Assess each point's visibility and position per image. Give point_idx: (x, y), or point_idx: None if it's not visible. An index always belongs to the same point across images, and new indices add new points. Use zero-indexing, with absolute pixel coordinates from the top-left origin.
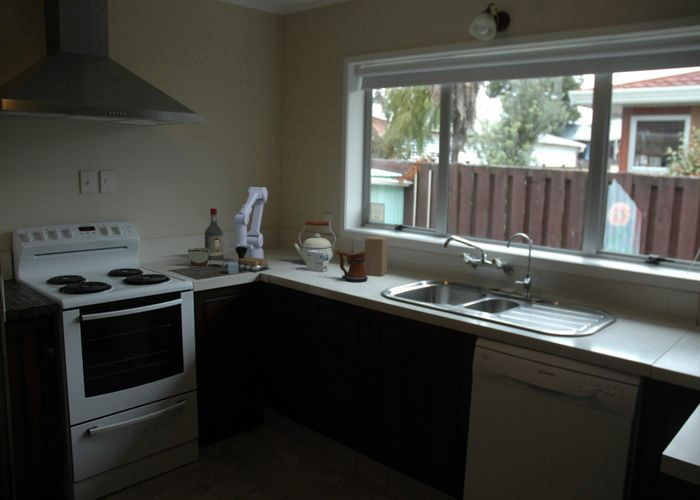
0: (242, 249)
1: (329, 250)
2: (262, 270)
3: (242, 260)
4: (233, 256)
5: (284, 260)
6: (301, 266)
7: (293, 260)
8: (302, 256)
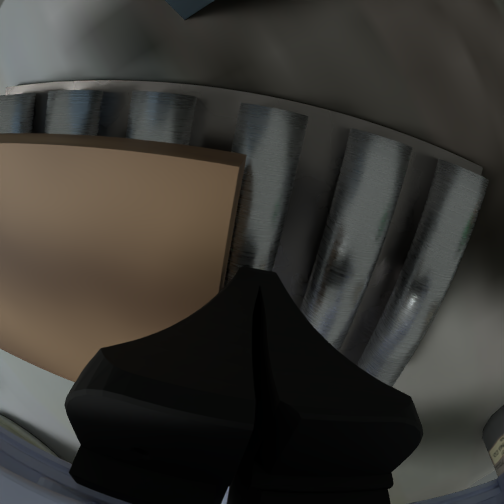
0: (75, 384)
1: None
2: None
3: (126, 149)
4: (432, 480)
5: None
6: (2, 395)
7: None
8: None
